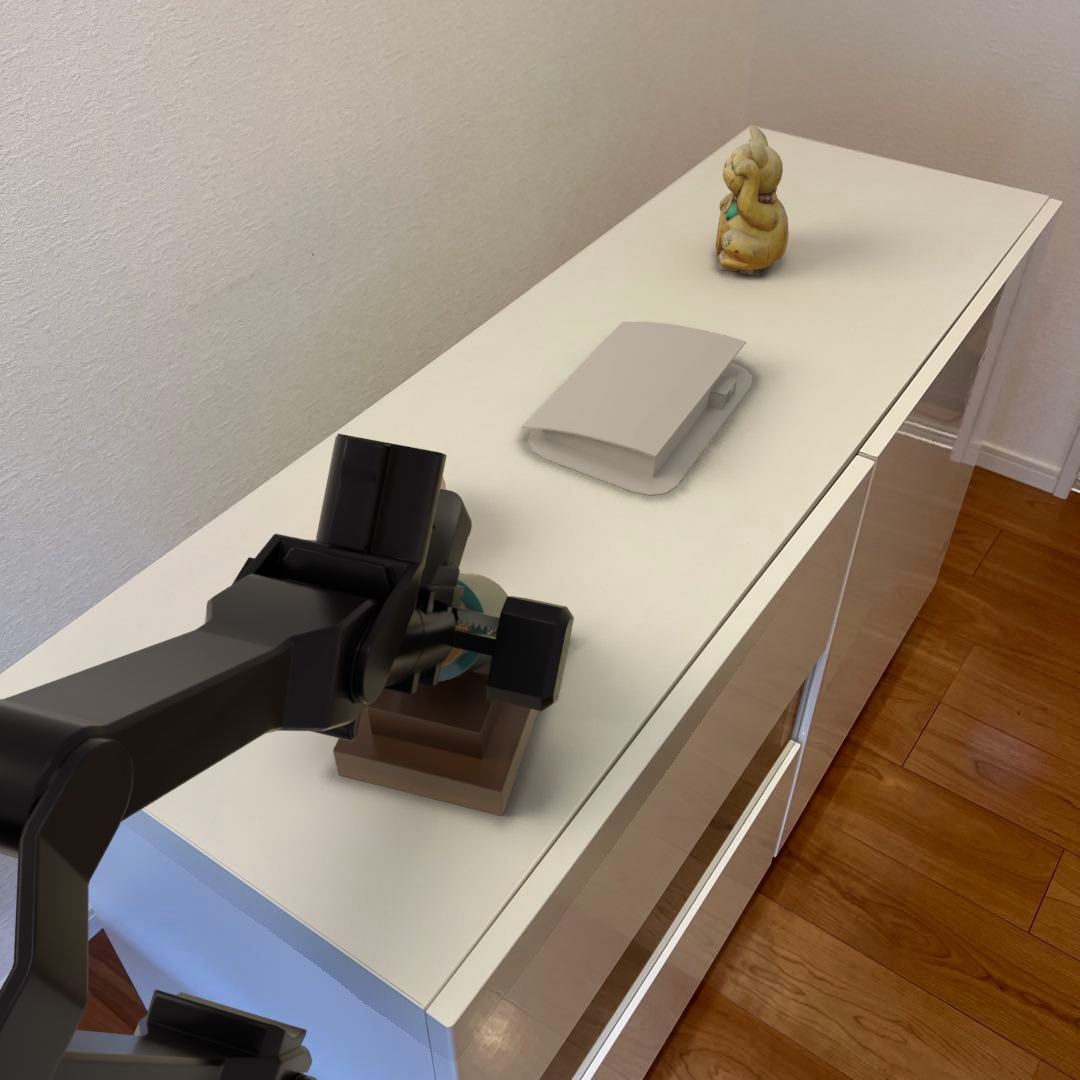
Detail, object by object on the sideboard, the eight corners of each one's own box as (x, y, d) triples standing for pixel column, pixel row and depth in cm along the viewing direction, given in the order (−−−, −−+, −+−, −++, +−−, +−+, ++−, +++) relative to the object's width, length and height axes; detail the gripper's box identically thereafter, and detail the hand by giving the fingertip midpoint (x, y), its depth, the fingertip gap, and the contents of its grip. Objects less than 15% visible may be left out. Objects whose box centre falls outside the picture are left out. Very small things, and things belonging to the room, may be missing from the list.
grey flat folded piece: (761, 372, 110) (766, 339, 107) (663, 503, 95) (667, 469, 93) (626, 329, 115) (628, 297, 112) (515, 447, 101) (514, 414, 98)
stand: (502, 816, 73) (500, 765, 69) (337, 775, 75) (326, 723, 71) (562, 642, 84) (564, 589, 80) (417, 610, 86) (411, 557, 82)
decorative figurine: (711, 238, 129) (727, 114, 119) (780, 242, 129) (802, 118, 118) (712, 280, 122) (729, 153, 112) (786, 284, 122) (810, 156, 111)
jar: (477, 750, 73) (471, 641, 65) (381, 727, 74) (363, 618, 66) (524, 629, 81) (523, 518, 73) (436, 610, 82) (425, 499, 74)
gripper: (569, 520, 56) (607, 531, 72) (244, 458, 60) (346, 480, 75) (528, 729, 56) (575, 695, 72) (206, 654, 60) (316, 637, 75)
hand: (451, 621), depth 73 cm, fingers open, 9 cm apart
